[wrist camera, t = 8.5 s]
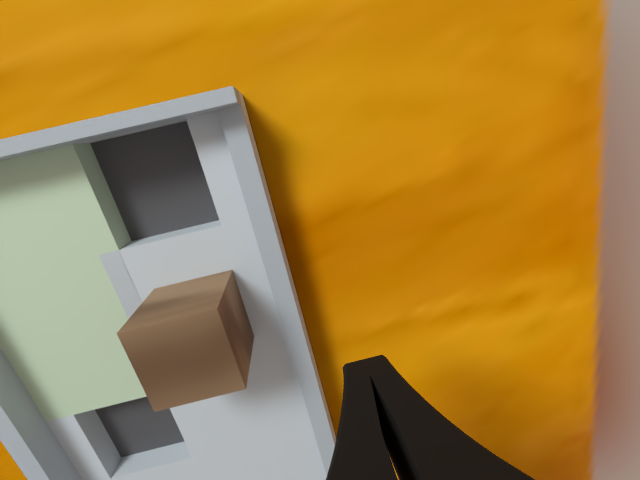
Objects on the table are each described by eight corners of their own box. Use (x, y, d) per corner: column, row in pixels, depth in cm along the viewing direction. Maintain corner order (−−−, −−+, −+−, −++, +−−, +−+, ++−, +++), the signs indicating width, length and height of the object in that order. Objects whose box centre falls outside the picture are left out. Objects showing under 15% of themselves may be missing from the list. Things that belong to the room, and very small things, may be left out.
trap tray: (341, 458, 24) (349, 504, 21) (115, 516, 23) (91, 571, 20) (242, 94, 16) (232, 85, 13) (-93, 171, 16) (-180, 181, 13)
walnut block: (254, 336, 18) (246, 389, 15) (181, 354, 18) (154, 412, 14) (232, 269, 17) (216, 308, 13) (154, 288, 17) (116, 333, 13)
